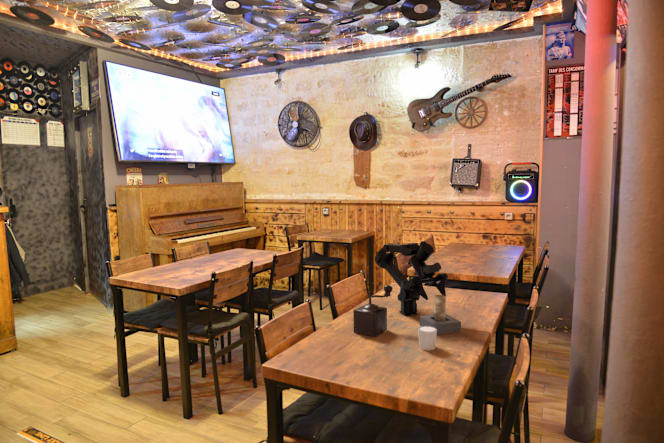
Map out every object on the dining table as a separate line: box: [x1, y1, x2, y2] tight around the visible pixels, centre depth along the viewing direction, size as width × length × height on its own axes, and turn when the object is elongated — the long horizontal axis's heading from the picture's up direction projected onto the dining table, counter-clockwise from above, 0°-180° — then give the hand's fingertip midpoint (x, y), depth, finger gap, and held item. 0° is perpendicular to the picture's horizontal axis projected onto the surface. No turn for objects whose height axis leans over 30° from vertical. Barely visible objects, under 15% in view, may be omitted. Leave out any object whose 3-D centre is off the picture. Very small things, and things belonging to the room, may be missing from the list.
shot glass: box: [417, 326, 437, 351], centre depth 154 cm, size 7×7×7 cm
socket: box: [419, 313, 462, 336], centre depth 174 cm, size 12×12×4 cm
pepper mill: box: [353, 284, 394, 338], centre depth 174 cm, size 16×11×18 cm
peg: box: [433, 294, 447, 322], centre depth 174 cm, size 4×4×14 cm
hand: (436, 298), depth 175 cm, fingers open, 9 cm apart
